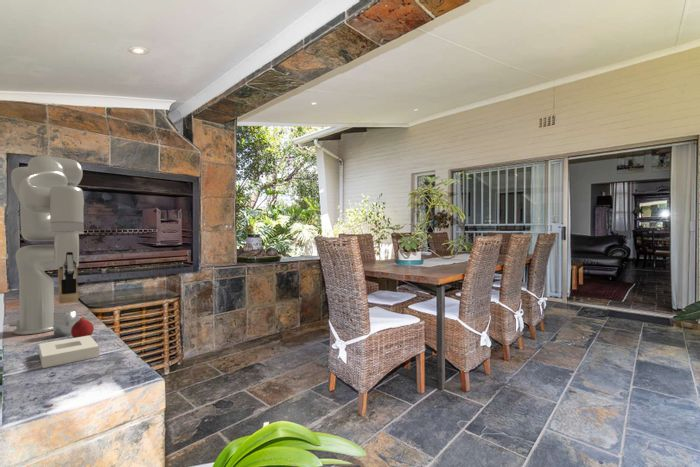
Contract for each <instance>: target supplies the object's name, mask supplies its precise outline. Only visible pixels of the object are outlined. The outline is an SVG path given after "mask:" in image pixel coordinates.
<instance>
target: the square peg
mask: <svg viewBox="0 0 700 467" xmlns="http://www.w3.org/2000/svg"><path fill="white" fill-rule="evenodd" d="M75 267H76V266H75ZM64 268H67V267H64ZM65 272H66V271H65ZM57 279H58V280H57V282H58V283H57V284H58V285H57V286H58V288H57V289H58V291H57V292H58V303H59V304H69V303H75V302H76V303H77V302H78V301H79V290H78V288H79V286H78V284H79V283H78V282H79V281H78V280H79V279H78V267H77V268H75V279H76V293H72V294H62V283H61V280H63V272H62V267H60V268H59V269H57Z"/></svg>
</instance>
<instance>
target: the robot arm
mask: <svg viewBox="0 0 700 467" xmlns="http://www.w3.org/2000/svg"><path fill="white" fill-rule="evenodd" d="M83 173H84V172H83V167H82V165H81V164H80V162H78V161H77V160H75V159H71V158H66V157H57V156H51V155H49V156H48V155H38V156H34V157H32V158H31V159H30V160H29V161H28V163H27V166H19V167H16V168H14V169H12V171H11V177H10V179H11V185H12V187H13V191H14V193H15V195H16V197H17V199H18V202H19V206H20V207H19V208H20V233H21V237H22V238H23V239H24V240H25V241H29V242H54V243H53V244H30V245H25V246H22V247H20V248H19V249H17V251H16V252H15V262H16V266H17V272H18V284H19V285H18V286H19V288H18V289H19V291H18V292H19V319H15V320H13V319H12V320H11V321H10V323H9V324H8V326H9V327H16V329H14V330H13V334H14V335H18V336H20V335H21V336H23V335H34V334H40V333H46V332H51V331H54V313H55V283H54V280H53V278H52V277H51V276H50V275H48V274H47V273H46V272H45V271H51V270H52V271H54V270H58V269H59V268H60V267H62V272H63V280H61V283H62V294H72V293H76V279H75V268H77V269H78V268H79V266H80V263H79V262H80V236H79V235H84V234H85V233H84V231H85V229H84V228H85V227H84V225H85V224H84V221H85V220H84V206H85V199H84V191H83V189H82V188H81V187H79V186H78V185H79V184H80V183H81V181H82V179H83V176H84V174H83ZM75 266H76V267H75ZM64 267H67V268H64ZM65 271H66V272H65Z"/></svg>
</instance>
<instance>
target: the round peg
mask: <svg viewBox="0 0 700 467" xmlns="http://www.w3.org/2000/svg"><path fill="white" fill-rule="evenodd" d="M78 312H79V311H78V309H67V310H59V311H54V330H53V337H54V338H63V337H64V338H65V337H70V336H71V337H72V334H71V329H72V327H73V325H74V324H75V323H76V322H77V321H79V316H78V314H79V313H78Z"/></svg>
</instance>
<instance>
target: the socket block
mask: <svg viewBox="0 0 700 467" xmlns="http://www.w3.org/2000/svg"><path fill="white" fill-rule="evenodd" d="M38 356H39V359H40V364H41V367H42V369H47V368H50V367H55V366H56V367H57V366H60V365H61V366H62V365H66V364H70V363H74V362H80V361H84V360H89V359H93V358H98V357H100V345H99V344H98V343H97V342H96V340H94V338H93V337H92V335H89V336H83V337H77V338H73V337H71V338H68V339H67V338H66V339H60V340H54V341H53V340H52V341H48V342H42V343H38Z"/></svg>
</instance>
